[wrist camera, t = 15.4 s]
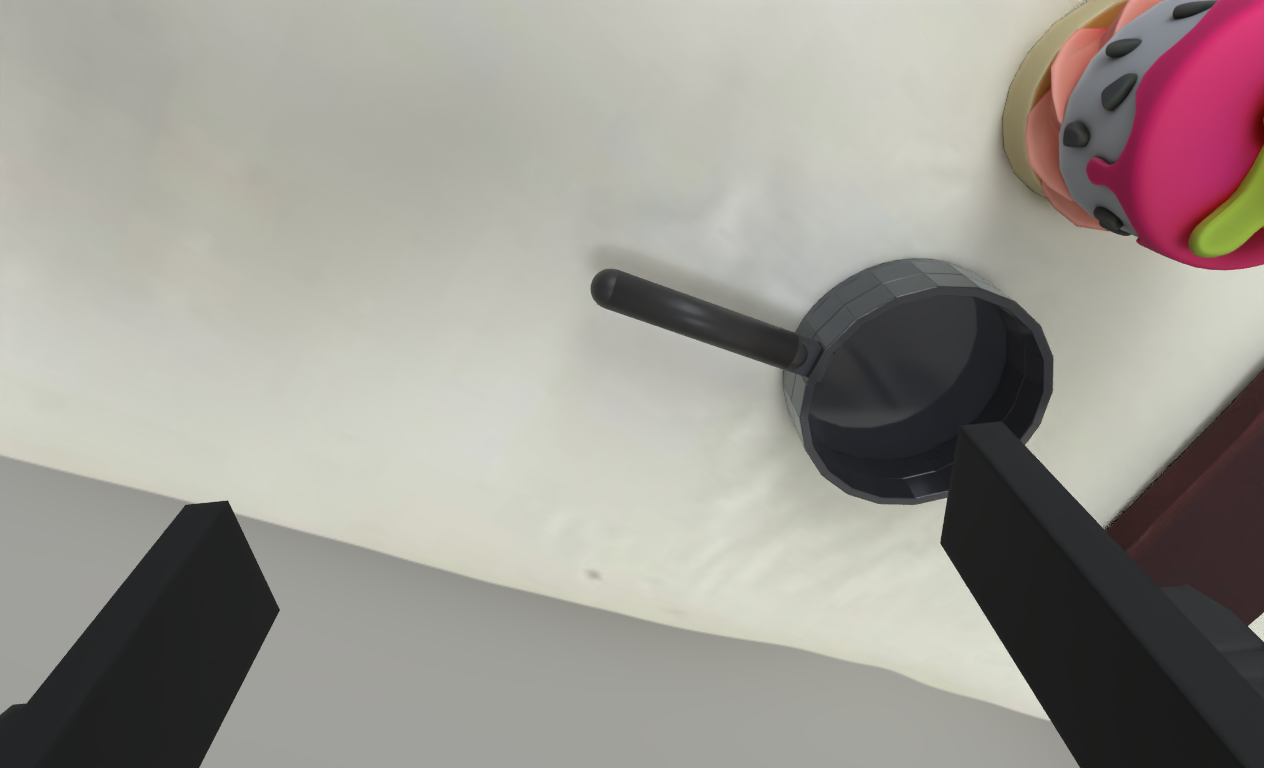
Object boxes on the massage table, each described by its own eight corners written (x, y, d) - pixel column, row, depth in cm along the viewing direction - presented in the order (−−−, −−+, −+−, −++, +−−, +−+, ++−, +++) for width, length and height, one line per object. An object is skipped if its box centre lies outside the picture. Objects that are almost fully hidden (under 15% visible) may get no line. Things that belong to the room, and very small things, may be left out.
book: (1060, 566, 50) (1088, 601, 47) (1279, 337, 42) (1329, 362, 39) (1191, 615, 52) (1225, 651, 50) (1420, 410, 44) (1476, 438, 41)
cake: (954, 102, 35) (1165, 160, 22) (1156, -76, 32) (1551, -135, 18) (1057, 247, 39) (1291, 373, 25) (1247, 102, 35) (1630, 161, 22)
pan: (1057, 304, 40) (1107, 337, 36) (930, 484, 46) (961, 529, 42) (852, 223, 38) (881, 248, 34) (745, 425, 43) (759, 467, 39)
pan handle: (829, 340, 38) (840, 356, 36) (812, 371, 39) (822, 388, 37) (598, 257, 35) (598, 270, 34) (585, 293, 36) (584, 307, 34)
